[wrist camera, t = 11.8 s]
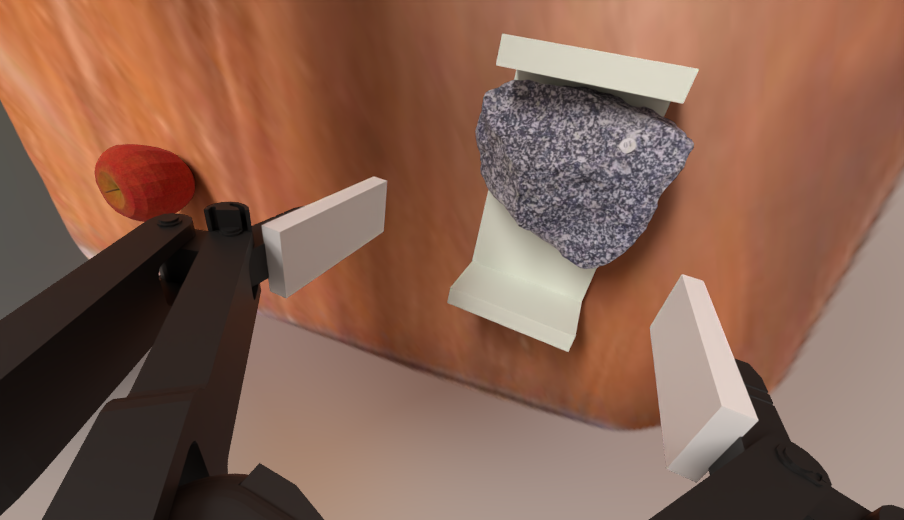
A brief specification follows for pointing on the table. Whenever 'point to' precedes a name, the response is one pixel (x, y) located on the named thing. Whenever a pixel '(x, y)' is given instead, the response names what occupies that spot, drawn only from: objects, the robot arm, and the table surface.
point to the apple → (144, 181)
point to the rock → (577, 165)
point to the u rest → (520, 251)
